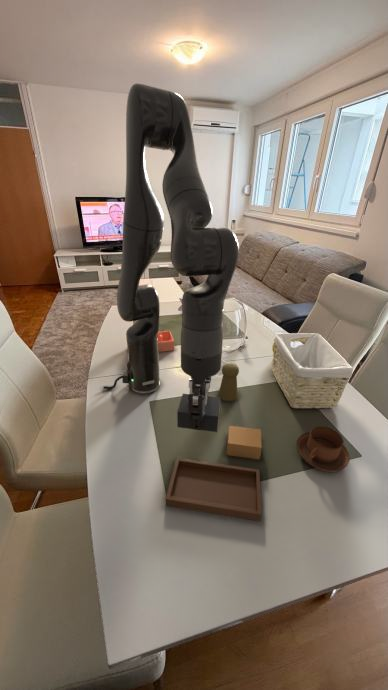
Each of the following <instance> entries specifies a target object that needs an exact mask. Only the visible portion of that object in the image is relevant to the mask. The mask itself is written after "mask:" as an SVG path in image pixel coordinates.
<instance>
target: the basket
mask: <svg viewBox="0 0 388 690" xmlns="http://www.w3.org/2000/svg"><path fill="white" fill-rule="evenodd" d="M274 342H275V346H274V353H273V352H272V354H273V355H272V357H273V358H272V366H271V371H272V374H273V376H274V378H275V380H276V382H277V384H278V386H279V387H280V389H281V391H282V393H283V395H284V397H285V398H286V400H287V402H288V404H289V406H290V407H291V408H293V409H328V408H330V409H332V408H336V407H337V406H338V404H339V402H340V400H341V398H342V396H343V393H344V391H345V389H346V385H347V384H348V383H349V381H350V378H352V377H353V371H354V368H353V367H352V365H350V363H349V362H348V361H347V360H346V359H345V358H344V357H343V356H342V355H341V354H340V353H339V352H338V351H337V350H336V349H335V348H334V347H333V346H332V345H331V344H330V343H329V342H328V341H327V340H326V338H324V336H322V335H321V333H317V332H315V333H311V332H310V333H309V332H291V333H289V332H287V333H285V332H281V333H279V332H278V333H276V334H275V337H274V339H273V343H274ZM295 342H299V343H300V342H302V344H300V345H298V346H296V347H292V345H291V344H292V343H295Z"/></svg>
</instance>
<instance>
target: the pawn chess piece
mask: <svg viewBox="0 0 388 690" xmlns="http://www.w3.org/2000/svg"><path fill="white" fill-rule="evenodd" d="M221 374H222V378H221V382H220V386H219V390H218V397H220V400H223V401H225V402H234V401H236V400H237V399H238V397H239V395H238V393H239V392H238V375H239V374H240V368H239V366H238V364H236V363H233V362H227V363H224V364H223V365H222V366H221Z"/></svg>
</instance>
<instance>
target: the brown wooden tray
mask: <svg viewBox="0 0 388 690" xmlns="http://www.w3.org/2000/svg"><path fill="white" fill-rule="evenodd" d="M260 471H261V469H258V468H257V469H256V468H250V467H244V466H236V465H229V464H224V463H216V462H208V461H201V460H195V459H187V458H180V457H176V458H175V461H174V464H173V469H172V472H171V477H170V480H169V484H168V488H167V492H166V494H165V507H172V508H178V509H184V510H190V511H196V512H201V513H202V512H203V513H208V514H209V513H210V514H214V515H220V516H227V517H233V518H239V519H245V520H251V521H257V522H261V520H262V519H261V518H262V495H261V494H262V493H261V492H262V491H261V474H260V473H261V472H260Z"/></svg>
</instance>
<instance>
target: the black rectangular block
mask: <svg viewBox="0 0 388 690" xmlns="http://www.w3.org/2000/svg"><path fill="white" fill-rule="evenodd" d="M188 396H189V393H182V396H181V398H180V402H179V406H178V408H177V412H176V415H177V416H176V418H177V419H176V420H177V423H176V424H177V428H181V429H187V430H189V429H190V430H193V429H192V428H191V419H189V417H188V415H189V404H188ZM203 398H205V396H203ZM220 409H221V398H220V397H219V396H209V395H208V399H207V404H206V405H204V415H203V428H202V430H201V431H204V432H205V431H206V432H214V433H218V428H219V420H220V411H221V410H220Z"/></svg>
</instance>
